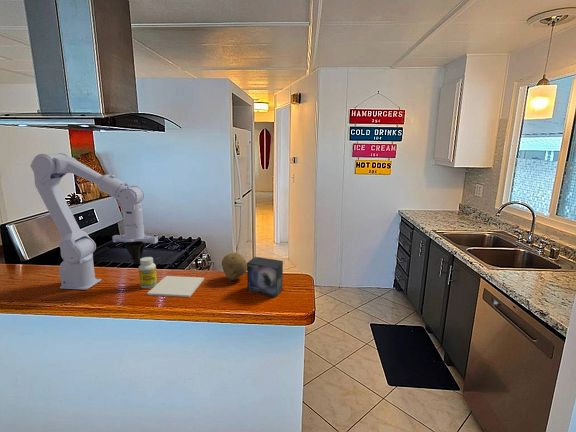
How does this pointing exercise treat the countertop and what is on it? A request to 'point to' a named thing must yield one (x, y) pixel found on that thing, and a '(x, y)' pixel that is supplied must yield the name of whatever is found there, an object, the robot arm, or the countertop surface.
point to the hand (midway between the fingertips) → (137, 262)
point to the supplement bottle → (147, 273)
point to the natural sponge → (234, 266)
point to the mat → (176, 286)
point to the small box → (265, 276)
